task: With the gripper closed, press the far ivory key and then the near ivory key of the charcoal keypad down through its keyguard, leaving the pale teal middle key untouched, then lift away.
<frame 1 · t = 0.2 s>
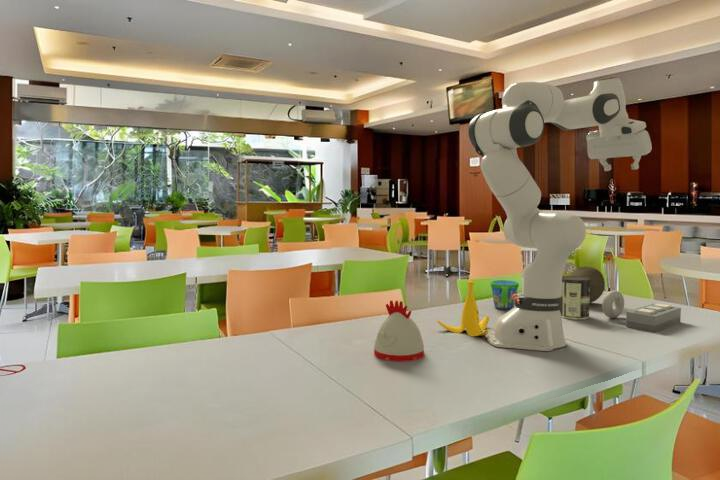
hand: (621, 169, 171), 52 cm above the table, tool tilted 20°, fingers open, 8 cm apart
banana peel: (462, 332, 170), on the table
key far: (662, 308, 180), point 5 cm above the table, slide at 0.0 cm
key near: (645, 313, 172), point 5 cm above the table, slide at 0.0 cm
snack cup: (504, 308, 204), on the table
keypad: (653, 324, 176), on the table
key mid: (654, 310, 176), point 5 cm above the table, slide at 0.0 cm
coconut: (585, 304, 210), on the table
coffee can: (573, 317, 189), on the table
donut: (612, 318, 186), on the table
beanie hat: (399, 354, 147), on the table
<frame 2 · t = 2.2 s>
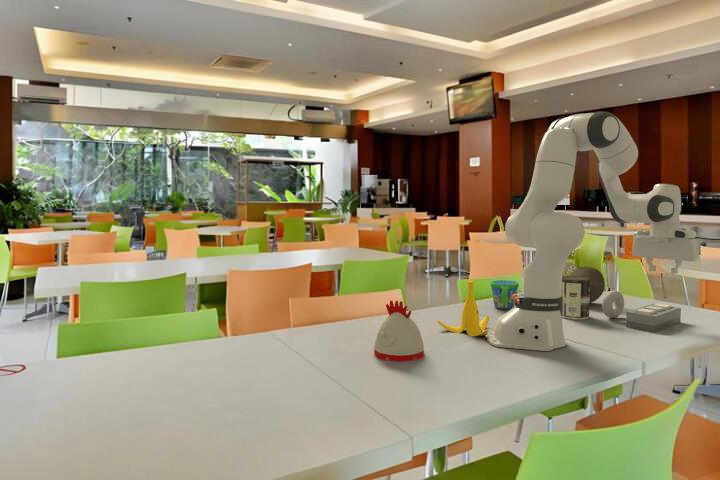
hand: (663, 272, 179), 17 cm above the table, tool pointing down, fingers open, 5 cm apart
nothing on the table moved.
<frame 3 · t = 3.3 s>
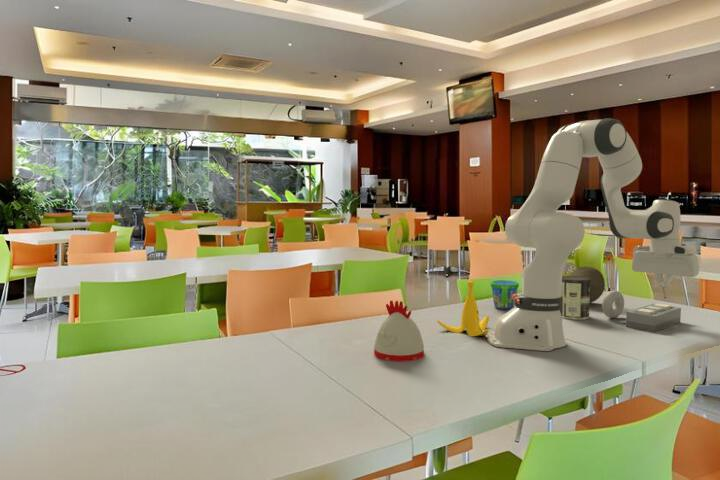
hand: (663, 287, 179), 12 cm above the table, tool pointing down, fingers closed
nothing on the table moved.
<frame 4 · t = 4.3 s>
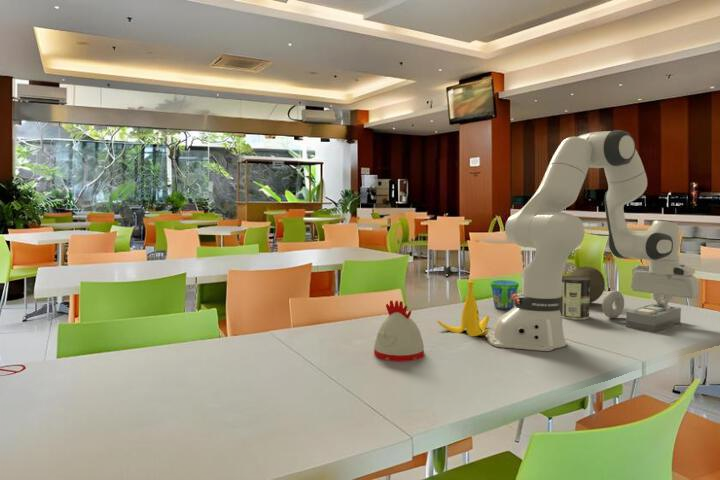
hand: (662, 307, 180), 5 cm above the table, tool pointing down, fingers closed, pressing on key far
key far: (661, 310, 180), point 4 cm above the table, slide at 0.8 cm, touching gripper
everything else where it was.
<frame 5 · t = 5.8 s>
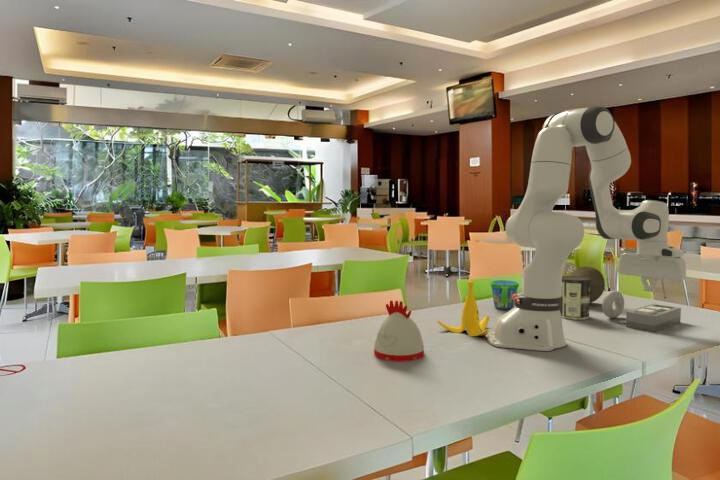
hand: (649, 291, 173), 12 cm above the table, tool pointing down, fingers closed
key far: (661, 311, 180), point 4 cm above the table, slide at 1.2 cm
everything else where it was.
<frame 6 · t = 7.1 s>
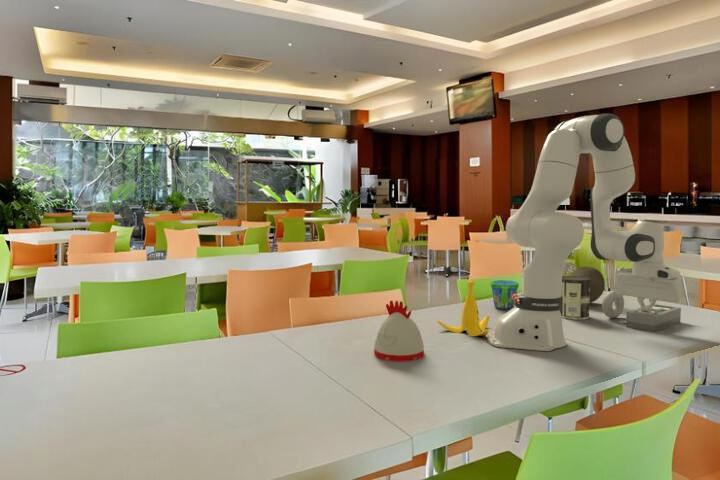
hand: (646, 311, 172), 5 cm above the table, tool pointing down, fingers closed, pressing on key near
key near: (645, 314, 172), point 4 cm above the table, slide at 0.5 cm, touching gripper
everything else where it was.
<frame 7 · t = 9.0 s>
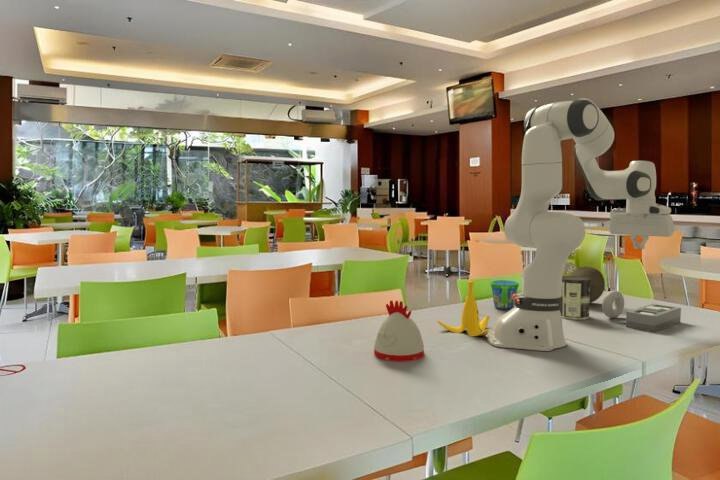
hand: (639, 248, 180), 25 cm above the table, tool pointing down, fingers closed
key near: (645, 316, 172), point 4 cm above the table, slide at 1.2 cm
everything else where it was.
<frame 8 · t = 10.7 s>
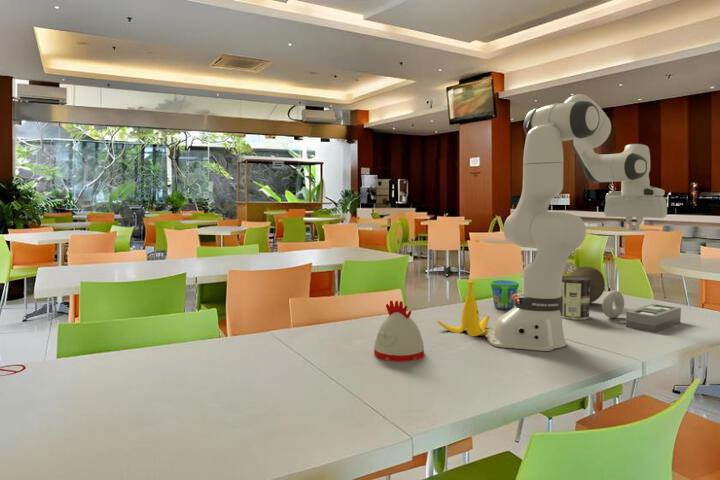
hand: (633, 230, 185), 31 cm above the table, tool pointing down, fingers closed
nothing on the table moved.
at the end: key far slide at 1.2 cm; key near slide at 1.2 cm; key mid slide at 0.0 cm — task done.
